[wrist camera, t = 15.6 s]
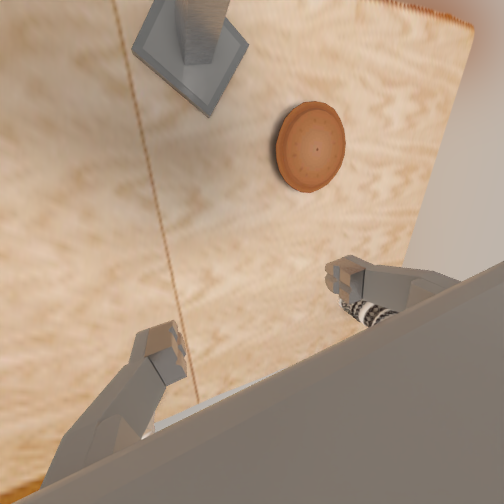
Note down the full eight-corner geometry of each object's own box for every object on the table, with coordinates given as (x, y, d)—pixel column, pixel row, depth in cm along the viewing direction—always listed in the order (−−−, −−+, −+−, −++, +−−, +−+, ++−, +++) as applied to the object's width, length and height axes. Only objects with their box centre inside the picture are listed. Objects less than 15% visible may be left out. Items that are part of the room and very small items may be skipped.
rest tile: (133, 53, 27) (131, 48, 26) (175, -34, 25) (174, -44, 24) (208, 118, 32) (210, 116, 31) (246, 49, 31) (249, 44, 30)
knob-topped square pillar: (184, 65, 28) (189, -23, 16) (175, 27, 27) (172, -105, 14) (211, 63, 29) (236, -20, 17) (204, 27, 27) (225, -96, 15)
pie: (252, 150, 37) (262, 147, 32) (307, 86, 36) (325, 74, 32) (297, 205, 44) (310, 209, 40) (343, 153, 44) (362, 151, 39)
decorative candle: (337, 291, 59) (432, 359, 37) (361, 280, 61) (464, 339, 39) (337, 313, 63) (423, 387, 41) (360, 302, 65) (453, 367, 43)
